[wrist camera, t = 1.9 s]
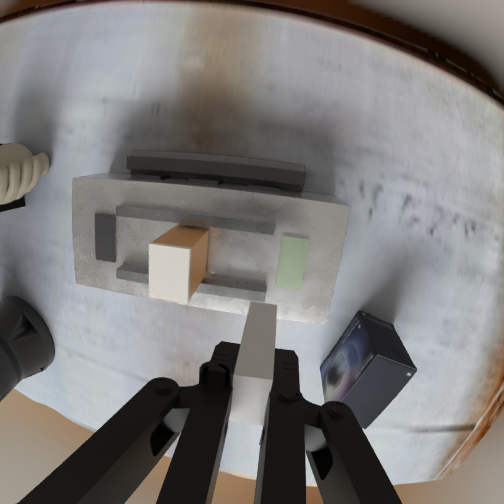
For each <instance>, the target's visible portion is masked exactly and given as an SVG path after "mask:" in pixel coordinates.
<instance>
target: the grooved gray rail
mask: <svg viewBox="0 0 504 504" xmlns="http://www.w3.org/2000/svg"><path fill="white" fill-rule="evenodd" d="M127 169H131V174H133V175H136V174H143V173H153V174H167V175H170V177H176V178H188V179H189V178H193V177H203V178H213V179H223V182H229V183H238V184H247V185H249V184H250V183H259V184H267V185H275V186H280V189H287V190H294V191H301V192H302V187H303V186H304V179H305V165H299V164H292V163H284V162H277V161H269V160H260V159H252V158H242V157H233V156H222V155H210V154H198V153H183V152H165V151H141V150H132V157H127Z"/></svg>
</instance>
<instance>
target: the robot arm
mask: <svg viewBox="0 0 504 504" xmlns="http://www.w3.org/2000/svg"><path fill="white" fill-rule="evenodd" d="M276 318H277V305H275V304H268V303H260V302H253V301H250V306H249V310H248V314H247V319H246V323H245V327H244V332H243V336H242V340H241V344H236V343H230V342H224V341H221V342H220V343H219V344H218V345H216V346H215V349H214V352H213V355H212V358H211V360H210V361H209V362H206V363H204V364H202V365H201V367H200V370H199V384H197V385H194V386H187V387H179V385H178V384H177V383H176V382H175V381H174V380H172V379H170V378H166V377H158V378H155V379H152V380H151V381H149V382H148V383H147V384H146V385H145V386H144V387H143V388H142V389H141V390H140V391H139V392H138V393H137V394H135V395H134V396H133V397H132V398H131V399H130V400H129V401H128V402H127V403H126V404H125V405H124V406H123V407H122V408H121V409H120V410H119V411H118V412H117V413H116V414H114V415H113V416H112V417H111V418H110V419H109V420H108V421H107V422H106V423H105V424H104V425H103V426H102V427H101V428H100V429H99V430H97V431H96V432H95V433H94V434H93V435H92V436H91V437H90V438H89V439H88V440H87V441H86V442H85V443H84V444H82V445H81V446H80V447H79V448H78V449H77V450H76V451H75V452H74V453H73V454H72V455H71V456H70V457H69V458H67V459H66V460H65V461H64V462H63V463H62V464H61V465H60V466H59V467H57V468H56V469H55V470H54V471H53V472H52V473H51V474H50V475H49V476H48V477H46V478H45V479H44V480H43V481H42V482H41V483H40V484H39V485H38V486H37V487H35V488H34V489H33V490H32V491H31V492H30V493H29V494H28V495H26V496H25V497H24V498H23V499H22V500H21V501H20V502H18V503H17V504H124V503H125V502H126V501H127V500H128V498H129V497H130V496H131V495H132V494H133V492H134V491H135V490H136V489H137V488H138V486H139V485H140V484H141V483H142V481H143V480H144V479H145V478H146V476H147V475H148V474H149V473H150V471H151V470H152V469H153V468H154V466H155V465H156V464H157V463H158V461H159V460H160V459H161V458H162V456H163V455H164V454H165V453H166V451H167V450H168V449H169V447H170V446H171V445H172V444H173V442H174V441H175V440H176V438H177V437H178V436H179V434H180V432H181V435H180V438H179V440H178V443H177V446H176V449H175V452H174V454H173V457H172V460H171V463H170V466H169V468H168V472H167V474H166V477H165V480H164V483H163V485H162V488H161V491H160V494H159V496H158V499H157V502H156V504H211V503H212V498H213V494H214V489H215V484H216V480H217V476H218V471H219V466H220V462H221V457H222V452H223V448H224V443H225V438H226V434H227V429H228V421H235V422H242V423H249V424H256V425H263V430H262V435H261V439H260V443H259V445H260V453H259V462H258V471H257V479H256V488H255V496H254V504H306V465H305V450H306V454H307V457H308V460H309V463H310V466H311V469H312V471H313V474H314V477H315V480H316V483H317V486H318V488H319V491H320V494H321V497H322V500H323V502H324V504H402V503H401V500H400V499H399V497H398V495H397V493H396V491H395V489H394V487H393V485H392V483H391V482H390V480H389V478H388V476H387V474H386V472H385V470H384V469H383V467H382V465H381V463H380V461H379V459H378V457H377V456H376V454H375V452H374V450H373V448H372V446H371V444H370V443H369V441H368V439H367V437H366V435H365V433H364V432H363V430H362V428H361V426H360V424H359V422H358V421H357V419H356V417H355V415H354V413H353V411H352V410H351V408H350V407H349V406H348V405H346V404H345V403H343V402H339V401H329V402H326V403H324V404H323V405H322V406H319V405H316V404H313V403H311V402H309V401H307V400H305V399H304V398H303V396H302V393H301V392H300V384H299V365H298V364H299V363H298V356H297V355H296V353H295V352H294V351H293V350H285V349H277V348H275V337H276ZM54 355H55V350H54V344H53V340H52V337H51V335H50V333H49V330H48V328H47V327H46V325H45V323H44V321H43V320H42V318H41V317H40V316H39V314H38V313H37V312H36V311H35V310H34V309H33V308H32V307H31V306H30V305H29V304H28V303H27V302H25V301H24V300H22V299H20V298H18V297H14V296H10V297H7V298H5V299H4V300H2V301H1V302H0V402H1V401H2V400H3V399H4V398H5V397H6V396H7V394H8V393H9V392H10V391H11V390H12V389H13V388H14V387H15V386H16V385H17V384H18V383H19V382H20V381H21V380H22V379H25V378H27V377H30V376H32V375H35V374H37V373H40V372H42V371H44V370H45V369H46V368H47V367H48V366H49V365H50V364H51V363H52V362H53V360H54Z"/></svg>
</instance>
